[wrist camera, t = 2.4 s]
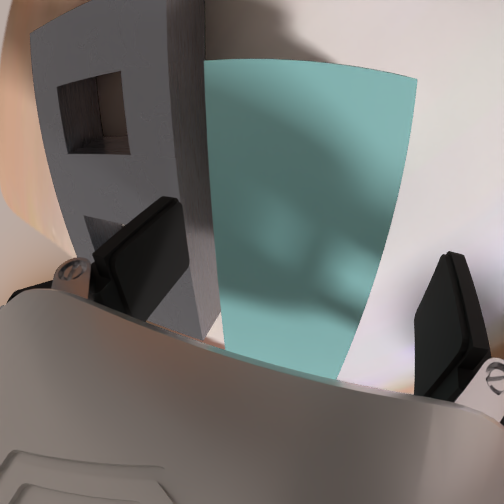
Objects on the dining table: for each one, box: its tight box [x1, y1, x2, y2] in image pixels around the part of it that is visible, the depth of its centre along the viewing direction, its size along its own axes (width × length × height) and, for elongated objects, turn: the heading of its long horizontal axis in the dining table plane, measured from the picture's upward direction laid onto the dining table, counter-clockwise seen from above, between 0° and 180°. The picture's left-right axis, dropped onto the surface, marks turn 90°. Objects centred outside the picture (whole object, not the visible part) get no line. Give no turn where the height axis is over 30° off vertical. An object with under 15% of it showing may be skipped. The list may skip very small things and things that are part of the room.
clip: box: [204, 59, 417, 380], centre depth 11 cm, size 12×4×8 cm, turn 179°
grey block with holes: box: [30, 0, 221, 340], centre depth 16 cm, size 20×10×3 cm, turn 179°
